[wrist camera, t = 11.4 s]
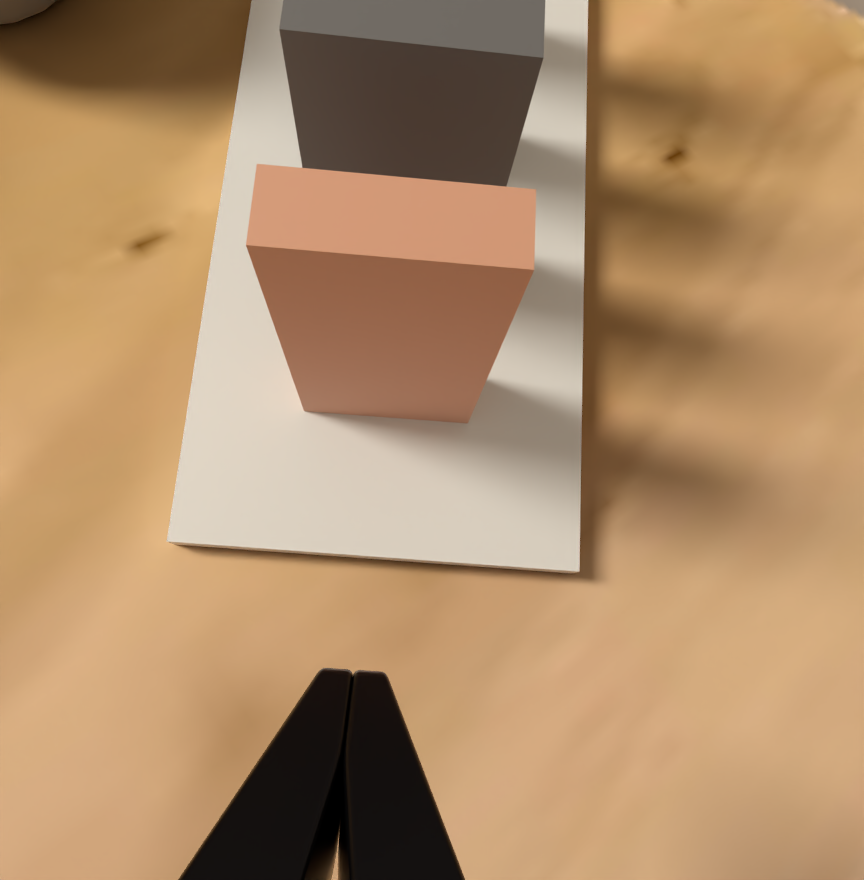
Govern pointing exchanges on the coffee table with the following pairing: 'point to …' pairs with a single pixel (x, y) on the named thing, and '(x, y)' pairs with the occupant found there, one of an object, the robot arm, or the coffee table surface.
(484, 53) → the domino
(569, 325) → the domino board
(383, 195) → the domino
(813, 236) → the coffee table surface
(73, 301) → the coffee table surface
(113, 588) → the coffee table surface
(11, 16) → the cup
